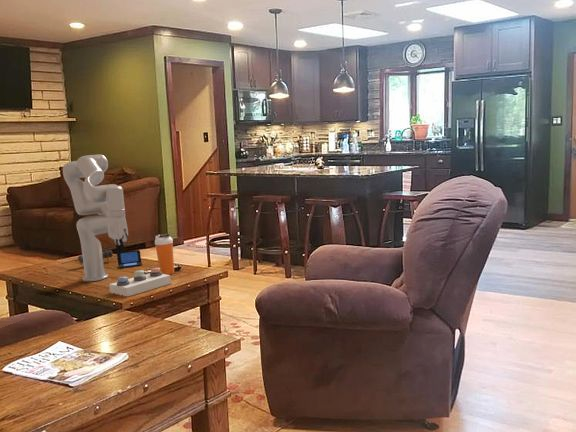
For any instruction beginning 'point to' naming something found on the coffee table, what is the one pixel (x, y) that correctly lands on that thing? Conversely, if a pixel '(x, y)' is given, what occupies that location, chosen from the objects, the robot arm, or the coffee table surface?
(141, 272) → the button sage
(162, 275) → the button panel
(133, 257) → the object
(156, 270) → the button terracotta
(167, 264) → the shaker bottle
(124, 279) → the button slate
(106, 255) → the bomb
